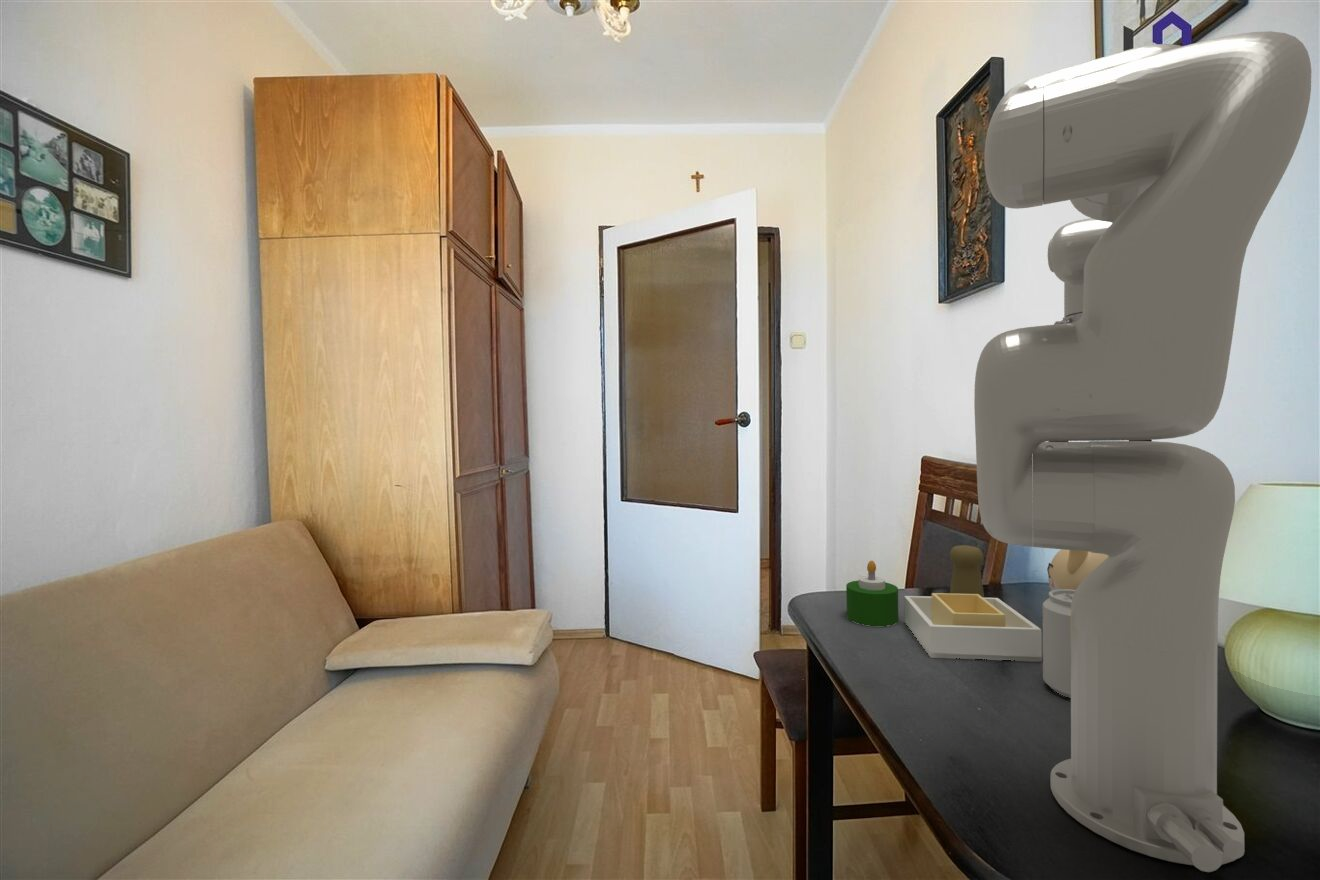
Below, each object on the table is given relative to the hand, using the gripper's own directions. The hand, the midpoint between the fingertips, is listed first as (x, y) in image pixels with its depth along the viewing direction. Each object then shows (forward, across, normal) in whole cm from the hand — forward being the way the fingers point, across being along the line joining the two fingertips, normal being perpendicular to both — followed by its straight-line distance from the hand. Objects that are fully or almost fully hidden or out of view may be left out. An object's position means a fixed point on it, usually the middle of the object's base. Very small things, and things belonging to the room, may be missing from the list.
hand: (1098, 455), depth 78 cm
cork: (+28, -9, +23) cm, 38 cm away
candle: (+29, -26, +16) cm, 42 cm away
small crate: (+28, -14, +7) cm, 32 cm away
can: (+28, -7, -9) cm, 31 cm away
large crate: (+28, -14, +7) cm, 33 cm away
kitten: (+29, +6, +14) cm, 32 cm away
